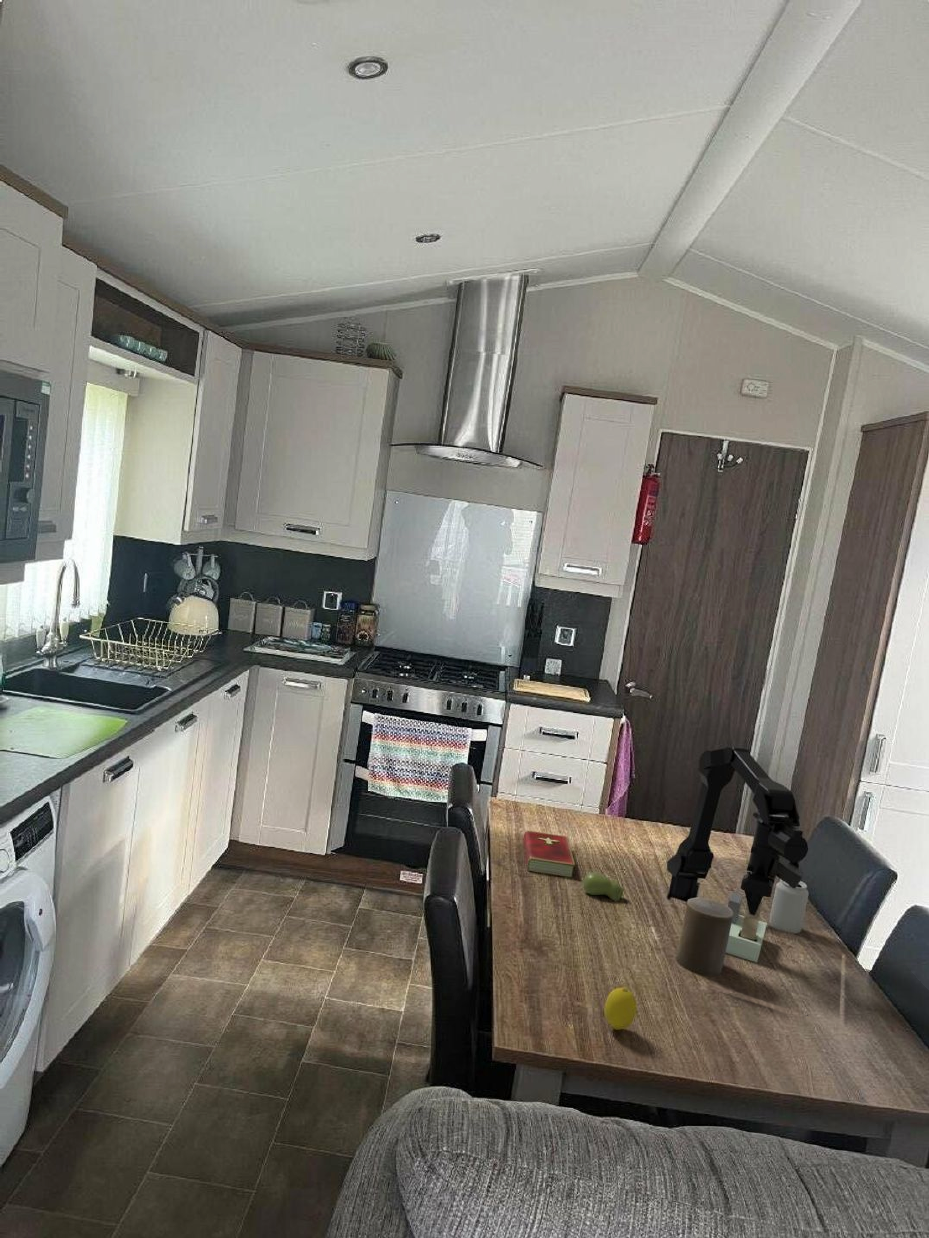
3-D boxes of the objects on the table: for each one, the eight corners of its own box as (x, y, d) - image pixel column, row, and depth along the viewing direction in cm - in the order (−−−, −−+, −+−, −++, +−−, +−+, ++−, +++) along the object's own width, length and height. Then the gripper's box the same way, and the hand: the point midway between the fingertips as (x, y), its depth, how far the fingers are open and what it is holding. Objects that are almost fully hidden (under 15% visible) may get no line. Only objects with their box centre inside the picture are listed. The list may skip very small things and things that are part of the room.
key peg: (740, 936, 205) (748, 897, 204) (742, 931, 207) (749, 892, 206) (754, 940, 204) (762, 901, 203) (755, 935, 206) (763, 896, 205)
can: (802, 939, 221) (812, 891, 220) (770, 931, 223) (779, 883, 221) (797, 926, 229) (807, 879, 227) (766, 919, 230) (775, 873, 229)
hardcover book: (526, 872, 237) (528, 856, 237) (522, 843, 258) (524, 828, 257) (572, 879, 237) (575, 863, 237) (565, 850, 258) (567, 835, 257)
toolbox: (709, 951, 206) (713, 934, 206) (718, 929, 219) (721, 913, 218) (756, 966, 202) (759, 949, 202) (762, 943, 215) (765, 926, 215)
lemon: (598, 1019, 170) (605, 978, 169) (627, 1022, 170) (635, 981, 169) (605, 1036, 164) (613, 994, 163) (635, 1040, 165) (643, 997, 164)
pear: (586, 866, 231) (625, 880, 231) (579, 885, 232) (618, 899, 231) (587, 874, 226) (627, 888, 225) (580, 894, 226) (619, 908, 226)
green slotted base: (713, 934, 206) (718, 909, 205) (722, 913, 218) (726, 889, 218) (760, 949, 202) (765, 923, 201) (766, 927, 215) (771, 902, 214)
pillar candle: (695, 982, 191) (710, 912, 189) (665, 958, 199) (678, 892, 197) (730, 978, 195) (745, 910, 194) (699, 955, 204) (713, 890, 202)
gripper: (803, 867, 192) (788, 938, 193) (807, 843, 209) (793, 909, 211) (747, 851, 196) (733, 922, 197) (756, 829, 213) (743, 894, 215)
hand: (753, 912), depth 205 cm, fingers closed on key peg, 3 cm apart
